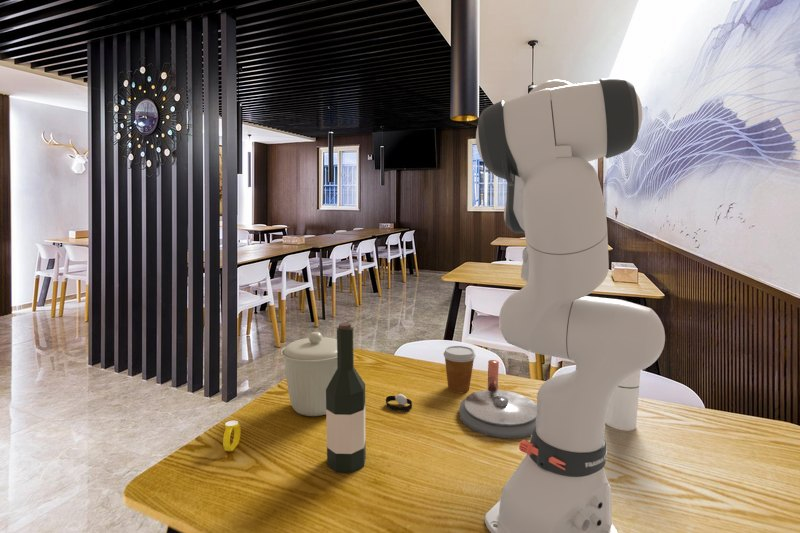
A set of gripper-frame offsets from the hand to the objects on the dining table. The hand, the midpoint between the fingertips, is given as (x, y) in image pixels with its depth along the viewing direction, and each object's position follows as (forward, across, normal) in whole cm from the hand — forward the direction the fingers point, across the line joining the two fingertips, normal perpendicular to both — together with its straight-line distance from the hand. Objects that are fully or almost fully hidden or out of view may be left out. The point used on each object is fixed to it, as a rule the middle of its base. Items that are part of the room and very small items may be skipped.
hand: (560, 299), depth 107 cm
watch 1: (+31, -79, -7) cm, 86 cm away
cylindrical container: (+31, +15, -6) cm, 35 cm away
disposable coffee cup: (+31, -20, +20) cm, 42 cm away
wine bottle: (+31, -54, -15) cm, 64 cm away
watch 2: (+32, -40, +9) cm, 52 cm away
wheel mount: (+31, -14, +1) cm, 34 cm away
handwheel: (+29, -14, +1) cm, 32 cm away
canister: (+31, -62, +11) cm, 70 cm away
